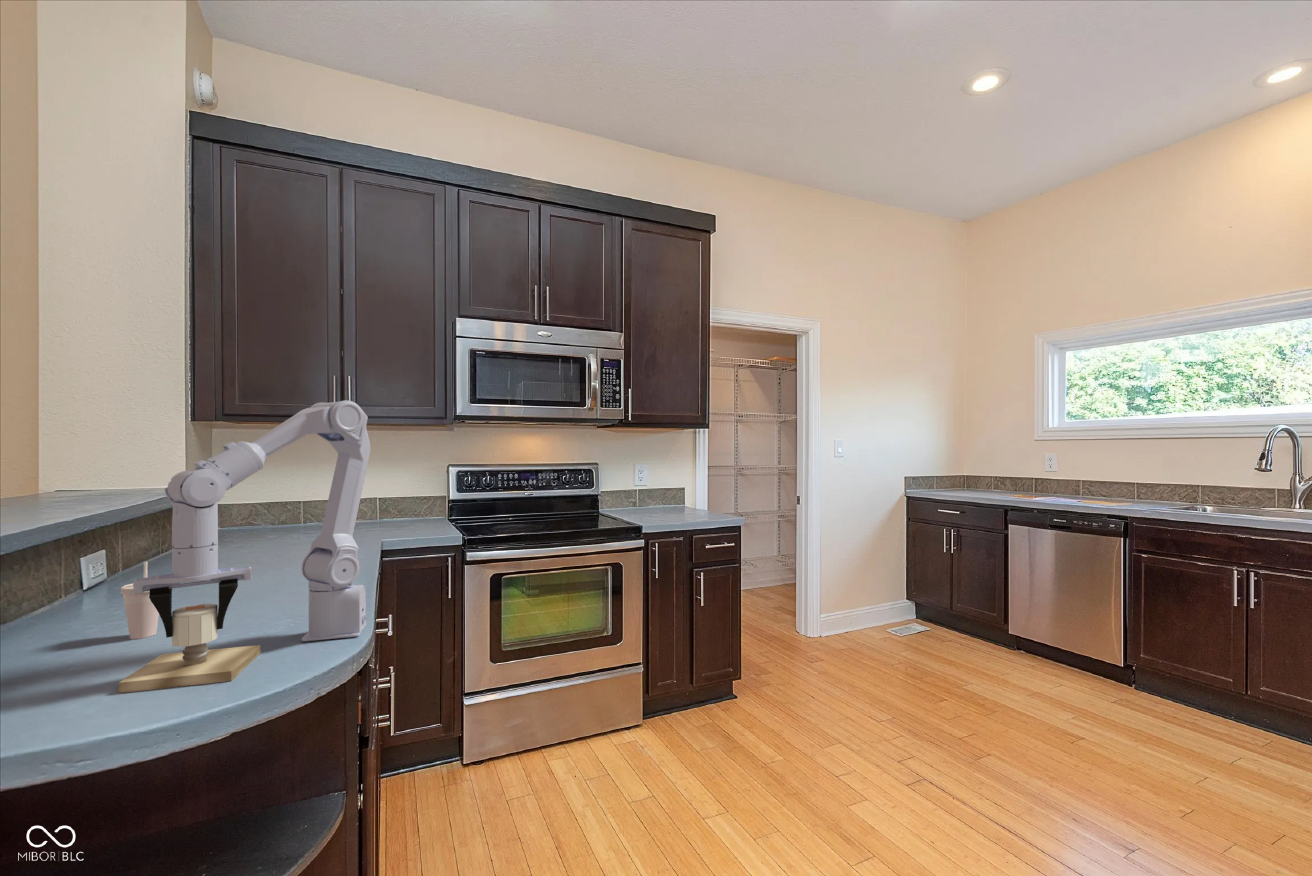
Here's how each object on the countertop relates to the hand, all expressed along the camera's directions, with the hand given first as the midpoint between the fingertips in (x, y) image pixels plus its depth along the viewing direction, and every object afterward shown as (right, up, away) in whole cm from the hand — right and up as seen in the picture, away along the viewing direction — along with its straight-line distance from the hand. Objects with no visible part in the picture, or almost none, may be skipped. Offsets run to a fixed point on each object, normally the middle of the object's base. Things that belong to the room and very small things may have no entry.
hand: (195, 631), depth 92 cm
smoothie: (-24, -7, +18) cm, 31 cm away
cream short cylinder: (0, -1, 0) cm, 1 cm away
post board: (0, -6, 0) cm, 6 cm away
